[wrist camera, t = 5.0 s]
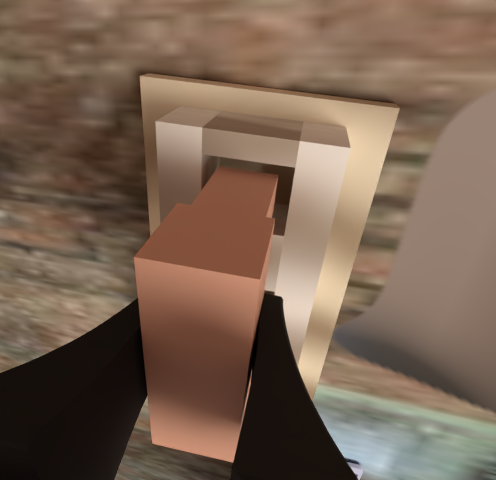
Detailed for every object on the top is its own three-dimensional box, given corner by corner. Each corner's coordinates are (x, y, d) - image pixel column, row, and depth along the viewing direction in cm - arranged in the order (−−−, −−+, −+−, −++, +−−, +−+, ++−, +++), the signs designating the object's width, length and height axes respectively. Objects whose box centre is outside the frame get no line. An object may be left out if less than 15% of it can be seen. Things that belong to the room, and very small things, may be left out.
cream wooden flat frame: (301, 426, 28) (298, 481, 25) (166, 396, 29) (145, 445, 26) (395, 103, 15) (415, 126, 12) (149, 73, 16) (104, 86, 13)
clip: (263, 320, 18) (235, 463, 12) (206, 309, 19) (152, 443, 13) (286, 171, 14) (260, 279, 8) (211, 160, 14) (133, 257, 8)
